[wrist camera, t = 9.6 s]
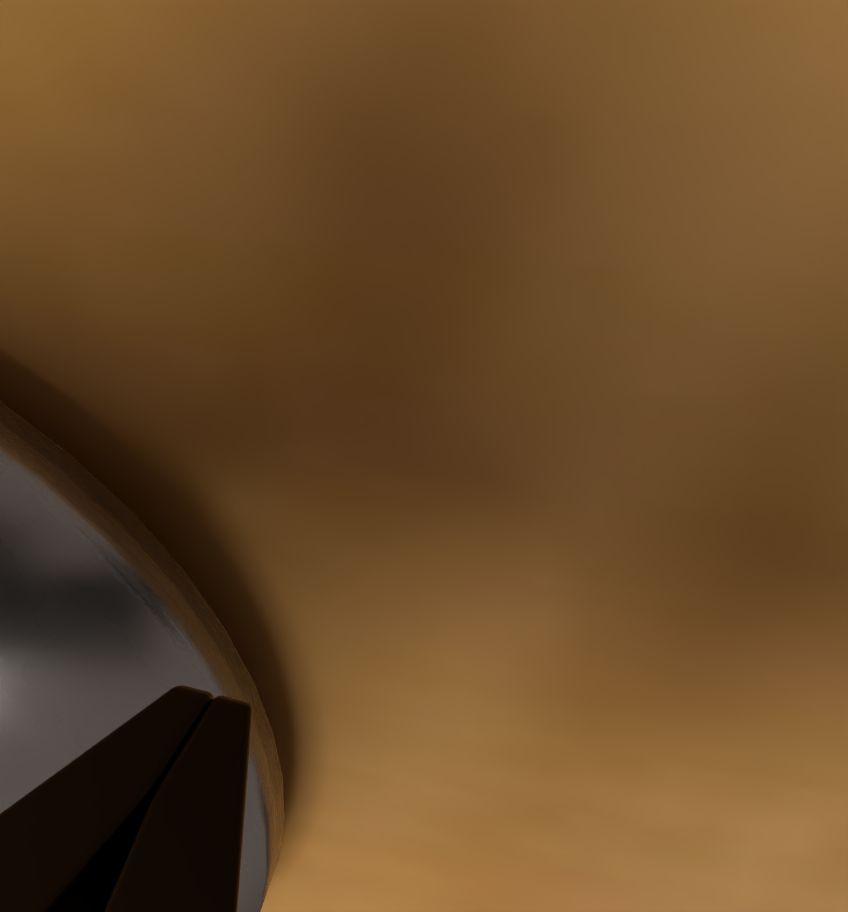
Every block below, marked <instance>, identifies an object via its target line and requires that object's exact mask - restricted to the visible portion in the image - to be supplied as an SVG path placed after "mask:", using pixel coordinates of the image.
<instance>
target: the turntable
mask: <svg viewBox="0 0 848 912" xmlns="http://www.w3.org/2000/svg"><path fill="white" fill-rule="evenodd" d="M180 685H181V686H188V687H191V688H195V689H199V690H203V691H207V692H209V693H211V694H213V696H214V698H216V697H217V696H226V697H230V698H234V699H238V700H241V701H245V702H248V703H250V704H251V705H252V708H253V712H252V725H251V738H250V752H249V765H248V778H247V791H246V804H245V818H244V831H243V844H242V857H241V871H240V884H239V897H238V910H237V912H260V911H261V908H262V905H263V902H264V899H265V896H266V893H267V891H268V888H269V885H270V882H271V879H272V876H273V873H274V871H275V868H276V865H277V862H278V858H279V852H280V846H281V840H282V835H283V829H284V823H285V821H284V787H283V776H282V772H281V767H280V762H279V757H278V753H277V748H276V743H275V739H274V734H273V731H272V728H271V725H270V723H269V720H268V718H267V715H266V712H265V710H264V707H263V704H262V702H261V699H260V697H259V694H258V691H257V689H256V686H255V683H254V681H253V679H252V677H251V675H250V673H249V672H248V670H247V668H246V666H245V664H244V662H243V661H242V659H241V657H240V655H239V653H238V651H237V650H236V648H235V646H234V644H233V642H232V640H231V639H230V637H229V635H228V633H227V631H226V630H225V628H224V626H223V624H222V623H221V622H220V620H219V619H218V617H217V616H216V615H215V613H214V612H213V610H212V609H211V608H210V606H209V605H208V603H207V602H206V600H205V599H204V598H203V596H202V595H201V593H200V592H199V591H198V589H197V588H196V586H195V585H194V584H193V582H192V581H191V579H190V578H189V577H188V575H187V574H186V572H185V571H184V570H183V568H182V567H181V566H180V565H179V564H178V563H177V561H176V560H175V559H174V558H173V557H172V556H171V555H170V554H169V552H168V551H167V550H166V549H165V548H164V547H163V546H162V545H161V543H160V542H159V541H158V540H157V539H156V538H155V537H154V535H153V534H152V533H151V532H150V531H149V530H148V529H147V528H146V526H145V525H144V524H143V523H142V522H141V521H140V520H139V519H138V517H137V516H136V515H135V514H134V513H133V512H132V511H131V510H130V509H129V508H128V507H127V506H126V505H125V504H124V503H123V502H122V501H121V500H119V499H118V498H117V497H116V496H115V495H114V494H113V493H112V492H111V491H110V490H109V489H108V488H106V487H105V486H104V485H103V484H102V483H101V482H100V481H99V480H98V479H97V478H96V477H95V476H93V475H92V474H91V473H90V472H89V471H88V470H87V469H86V468H85V467H84V466H83V465H82V464H81V463H79V462H78V461H77V460H76V459H75V458H74V457H73V456H72V455H71V454H70V453H68V452H67V451H66V450H64V449H63V448H62V447H60V446H59V445H58V444H57V443H55V442H54V441H53V440H51V439H50V438H49V437H47V436H46V435H45V434H43V433H42V432H41V431H40V430H38V429H37V428H36V427H34V426H33V425H32V424H30V423H29V422H28V421H26V420H25V419H24V418H22V417H21V416H20V415H19V414H17V413H16V412H15V411H13V410H12V409H11V408H9V407H8V406H7V405H5V404H4V403H3V402H2V401H0V814H1V813H2V812H3V811H5V810H6V809H7V808H9V807H10V806H12V805H13V804H14V803H16V802H17V801H18V800H20V799H21V798H22V797H24V796H25V795H27V794H28V793H29V792H31V791H32V790H33V789H35V788H36V787H38V786H39V785H40V784H42V783H43V782H44V781H46V780H47V779H48V778H50V777H51V776H53V775H54V774H55V773H57V772H58V771H59V770H61V769H62V768H64V767H65V766H66V765H68V764H69V763H70V762H72V761H73V760H74V759H76V758H77V757H79V756H80V755H81V754H83V753H84V752H85V751H87V750H88V749H90V748H91V747H92V746H94V745H95V744H96V743H98V742H99V741H100V740H102V739H103V738H105V737H106V736H107V735H109V734H110V733H111V732H113V731H114V730H116V729H117V728H118V727H120V726H121V725H122V724H124V723H125V722H126V721H128V720H129V719H131V718H132V717H133V716H135V715H136V714H137V713H139V712H140V711H142V710H143V709H144V708H146V707H147V706H148V705H150V704H151V703H152V702H154V701H155V700H157V699H158V698H159V697H161V696H162V695H163V694H165V693H166V692H167V691H169V690H170V689H172V688H174V687H176V686H180Z"/></svg>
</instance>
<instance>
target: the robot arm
mask: <svg viewBox="0 0 848 912" xmlns="http://www.w3.org/2000/svg"><path fill="white" fill-rule="evenodd" d="M252 712H253V708H252V705H251V704H250V703H248V702H245V701H241V700H238V699H234V698H230V697H226V696H217V697H216V698H214V696H213V694H211V693H209V692H207V691H203V690H199V689H195V688H191V687H188V686H181V685H180V686H176V687H174V688H172V689H170V690H169V691H167V692H166V693H165V694H163V695H162V696H161V697H159V698H158V699H157V700H155V701H154V702H152V703H151V704H150V705H148V706H147V707H146V708H144V709H143V710H142V711H140V712H139V713H137V714H136V715H135V716H133V717H132V718H131V719H129V720H128V721H126V722H125V723H124V724H122V725H121V726H120V727H118V728H117V729H116V730H114V731H113V732H111V733H110V734H109V735H107V736H106V737H105V738H103V739H102V740H100V741H99V742H98V743H96V744H95V745H94V746H92V747H91V748H90V749H88V750H87V751H85V752H84V753H83V754H81V755H80V756H79V757H77V758H76V759H74V760H73V761H72V762H70V763H69V764H68V765H66V766H65V767H64V768H62V769H61V770H59V771H58V772H57V773H55V774H54V775H53V776H51V777H50V778H48V779H47V780H46V781H44V782H43V783H42V784H40V785H39V786H38V787H36V788H35V789H33V790H32V791H31V792H29V793H28V794H27V795H25V796H24V797H22V798H21V799H20V800H18V801H17V802H16V803H14V804H13V805H12V806H10V807H9V808H7V809H6V810H5V811H3V812H2V813H1V814H0V912H237V910H238V897H239V884H240V871H241V857H242V844H243V831H244V818H245V804H246V791H247V778H248V765H249V752H250V738H251V725H252Z"/></svg>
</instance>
